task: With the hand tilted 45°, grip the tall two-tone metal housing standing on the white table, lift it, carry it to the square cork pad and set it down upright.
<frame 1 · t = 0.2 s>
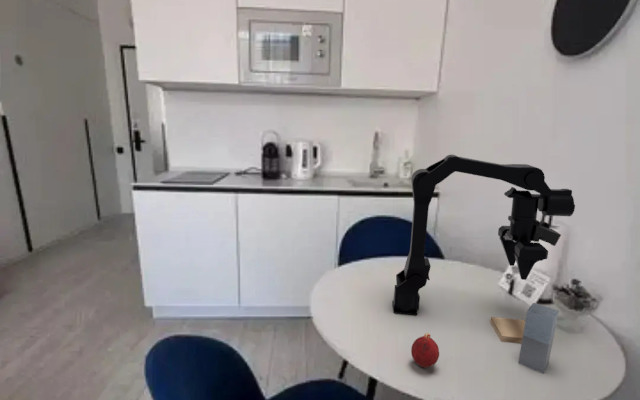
hand: (517, 272, 98), 14 cm above the table, tool pointing down, fingers open, 9 cm apart
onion: (423, 367, 81), on the table
housing: (533, 363, 84), on the table
cork pad: (513, 333, 95), on the table
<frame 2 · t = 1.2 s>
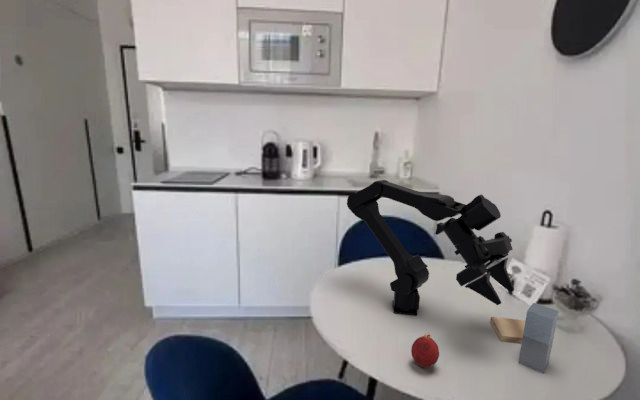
hand: (506, 297, 86), 13 cm above the table, tool tilted 45°, fingers open, 9 cm apart
nothing on the table moved.
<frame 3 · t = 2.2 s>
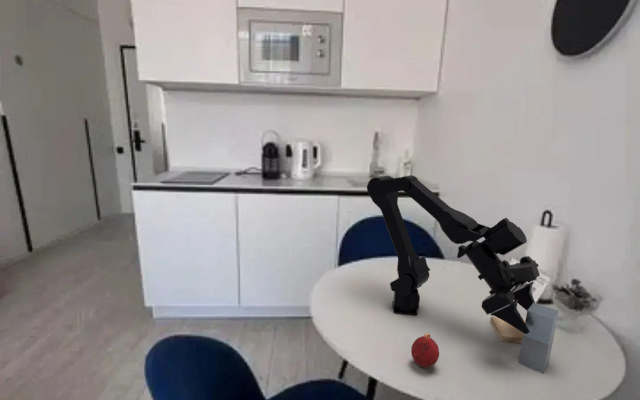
hand: (533, 324, 82), 9 cm above the table, tool tilted 45°, fingers open, 9 cm apart
nothing on the table moved.
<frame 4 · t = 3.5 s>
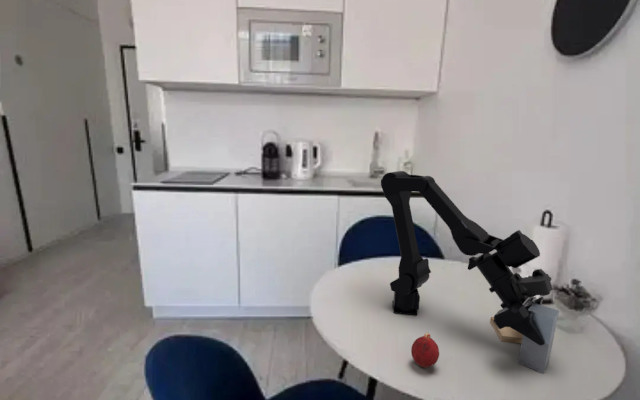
hand: (545, 339, 81), 7 cm above the table, tool tilted 45°, fingers closed on housing, 5 cm apart
housing: (533, 362, 84), on the table, touching gripper
everything else where it was.
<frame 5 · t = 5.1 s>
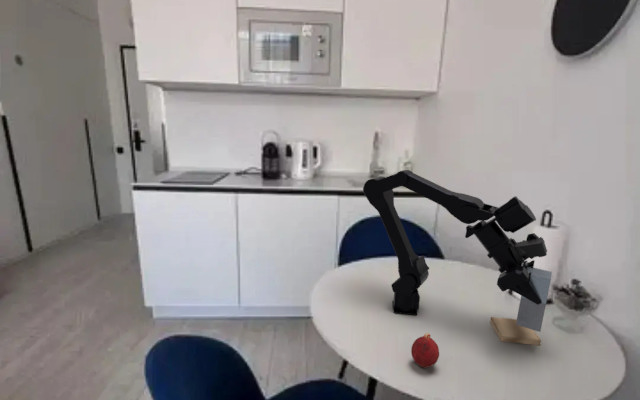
hand: (540, 298, 85), 13 cm above the table, tool tilted 45°, fingers closed on housing, 5 cm apart
housing: (528, 323, 88), point 6 cm above the table, touching gripper
everything else where it was.
when the fingers open (9 cm above the table, at t = 6.8 s): housing stays where it is, resting on cork pad.
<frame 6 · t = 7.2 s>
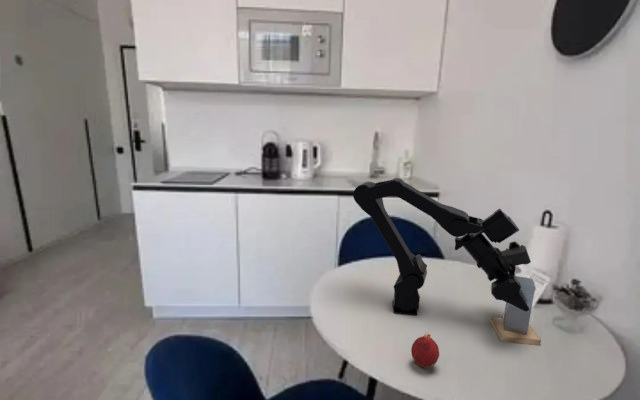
hand: (525, 301, 93), 9 cm above the table, tool tilted 45°, fingers open, 9 cm apart
housing: (514, 327, 95), point 1 cm above the table, touching cork pad
everything else where it was.
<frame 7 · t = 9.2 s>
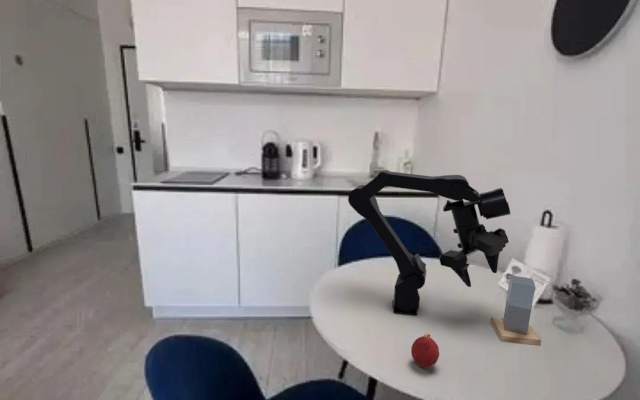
hand: (482, 279, 97), 12 cm above the table, tool tilted 20°, fingers open, 9 cm apart
nothing on the table moved.
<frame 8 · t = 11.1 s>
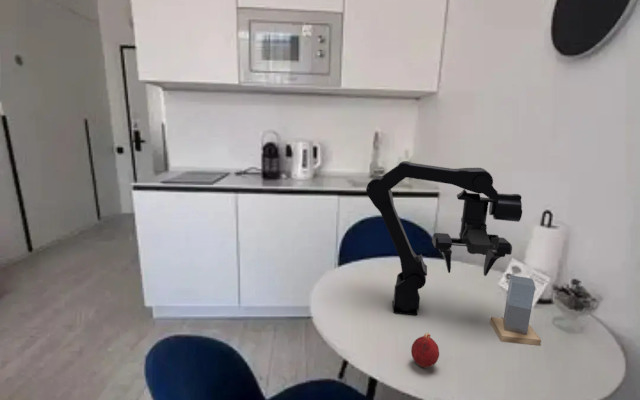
hand: (466, 273, 99), 13 cm above the table, tool pointing down, fingers open, 9 cm apart
nothing on the table moved.
at the end: housing inside the target area on the cork pad (0.0 cm from its centre), point 1.5 cm above the cork pad's base; housing tilted 0°; the gripper is holding nothing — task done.
